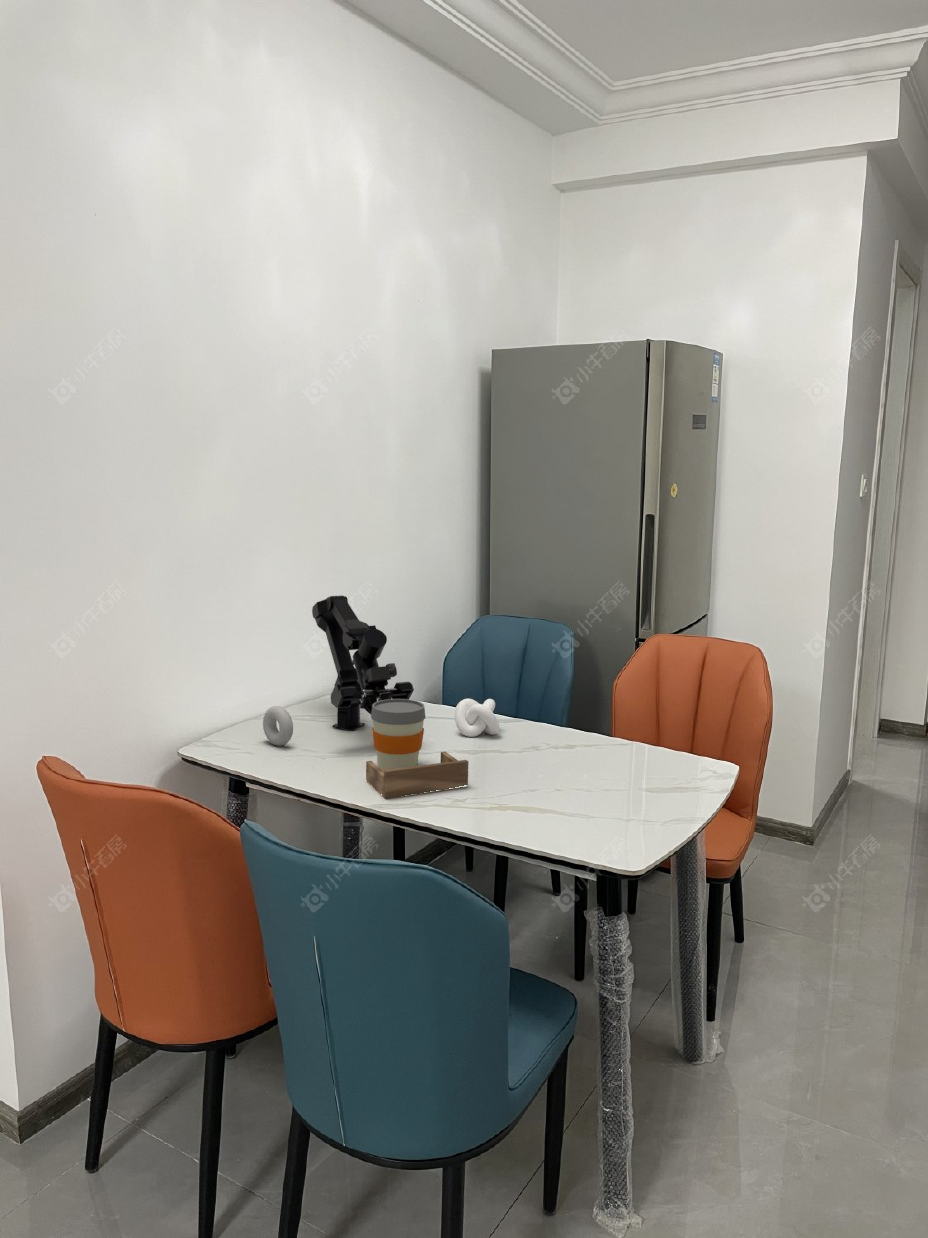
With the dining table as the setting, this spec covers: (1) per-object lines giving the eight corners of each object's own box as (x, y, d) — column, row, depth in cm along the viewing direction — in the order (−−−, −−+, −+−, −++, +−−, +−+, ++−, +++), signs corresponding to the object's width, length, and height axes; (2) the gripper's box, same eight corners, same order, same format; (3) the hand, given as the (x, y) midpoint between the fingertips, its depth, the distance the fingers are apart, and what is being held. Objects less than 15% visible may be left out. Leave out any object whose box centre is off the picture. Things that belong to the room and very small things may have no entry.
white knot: (459, 741, 241) (460, 707, 239) (449, 728, 252) (450, 695, 251) (502, 739, 244) (503, 706, 242) (490, 726, 255) (491, 694, 253)
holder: (366, 780, 211) (366, 754, 210) (445, 770, 219) (445, 745, 218) (385, 799, 200) (385, 772, 199) (467, 787, 208) (468, 761, 207)
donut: (296, 748, 232) (296, 709, 230) (285, 751, 230) (284, 711, 228) (271, 739, 239) (270, 701, 237) (260, 742, 236) (259, 703, 234)
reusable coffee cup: (359, 767, 220) (359, 705, 217) (398, 755, 229) (399, 695, 226) (396, 781, 211) (397, 716, 209) (435, 768, 220) (436, 706, 218)
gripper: (339, 655, 225) (354, 711, 217) (411, 649, 233) (428, 704, 225) (329, 679, 233) (343, 735, 225) (399, 673, 241) (415, 727, 233)
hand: (383, 724), depth 227 cm, fingers closed
